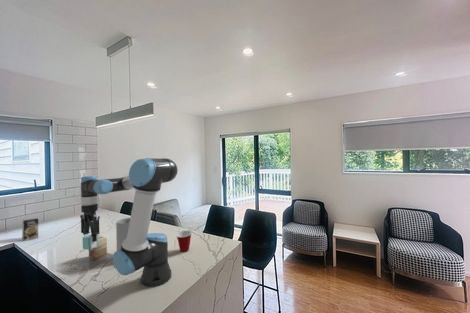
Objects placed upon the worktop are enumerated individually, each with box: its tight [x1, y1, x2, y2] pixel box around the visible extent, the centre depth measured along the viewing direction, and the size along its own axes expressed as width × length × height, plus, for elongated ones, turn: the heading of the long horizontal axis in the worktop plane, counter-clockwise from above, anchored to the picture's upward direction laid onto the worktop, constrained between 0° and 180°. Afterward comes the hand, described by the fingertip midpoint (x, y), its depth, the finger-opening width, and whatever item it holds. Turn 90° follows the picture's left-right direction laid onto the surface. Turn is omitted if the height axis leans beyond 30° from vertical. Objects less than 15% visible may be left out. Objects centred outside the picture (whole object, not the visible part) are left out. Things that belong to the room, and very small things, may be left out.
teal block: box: [82, 234, 99, 251], centre depth 116 cm, size 5×5×6 cm
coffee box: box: [21, 218, 39, 242], centre depth 179 cm, size 9×6×16 cm
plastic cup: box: [175, 230, 193, 253], centre depth 146 cm, size 11×11×12 cm
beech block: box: [88, 235, 108, 251], centre depth 135 cm, size 7×7×6 cm
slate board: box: [72, 252, 114, 270], centre depth 133 cm, size 18×18×2 cm
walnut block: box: [88, 246, 108, 261], centre depth 135 cm, size 7×7×6 cm
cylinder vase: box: [115, 217, 130, 251], centre depth 134 cm, size 12×12×25 cm
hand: (90, 246), depth 116 cm, fingers closed on teal block, 5 cm apart
